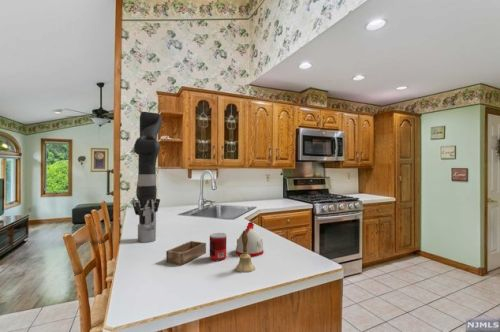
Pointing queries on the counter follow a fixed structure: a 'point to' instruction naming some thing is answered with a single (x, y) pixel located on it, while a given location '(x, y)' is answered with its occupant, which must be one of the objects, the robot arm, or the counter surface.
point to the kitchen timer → (250, 242)
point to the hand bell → (245, 257)
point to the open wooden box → (185, 252)
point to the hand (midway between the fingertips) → (146, 223)
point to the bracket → (147, 221)
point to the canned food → (217, 246)
